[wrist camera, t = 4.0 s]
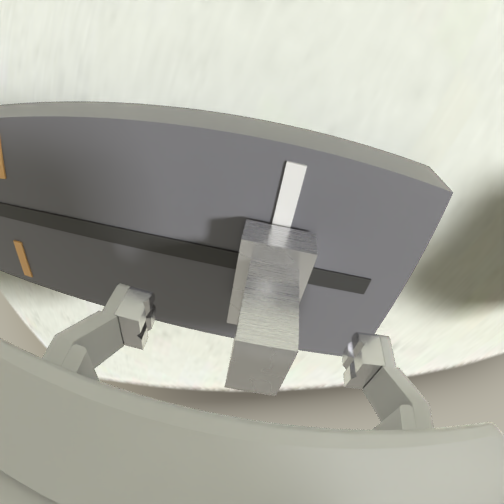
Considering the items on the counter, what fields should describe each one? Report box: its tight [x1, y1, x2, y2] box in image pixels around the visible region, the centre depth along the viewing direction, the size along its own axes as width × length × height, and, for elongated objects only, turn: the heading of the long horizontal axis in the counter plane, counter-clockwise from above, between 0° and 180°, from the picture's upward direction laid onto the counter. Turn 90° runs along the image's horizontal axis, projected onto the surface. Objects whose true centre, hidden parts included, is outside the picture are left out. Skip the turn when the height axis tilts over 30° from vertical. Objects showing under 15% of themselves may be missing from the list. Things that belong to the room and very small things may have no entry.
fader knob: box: [225, 219, 318, 396], centre depth 13 cm, size 3×5×6 cm, turn 171°
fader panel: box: [0, 102, 453, 356], centre depth 16 cm, size 30×12×3 cm, turn 81°
